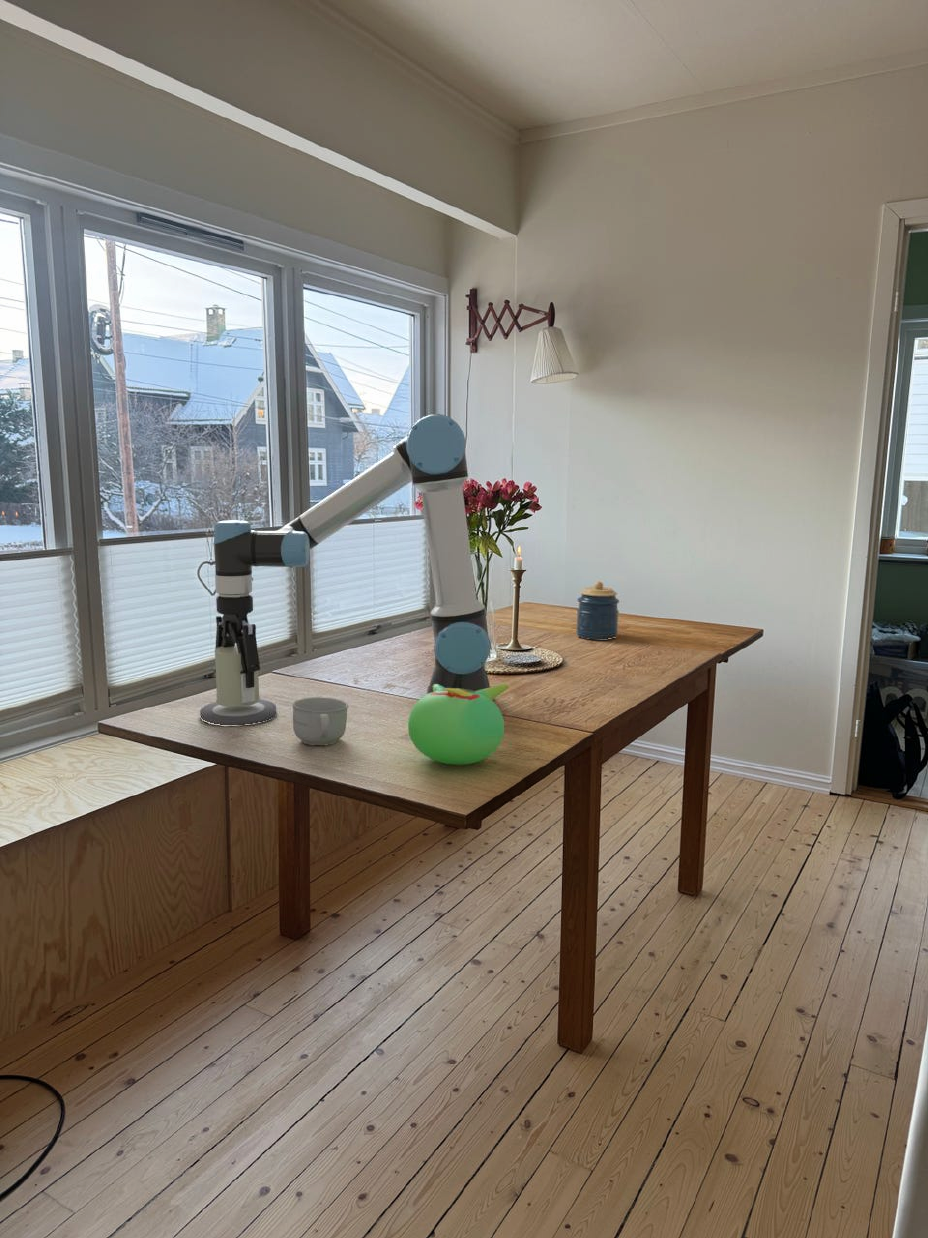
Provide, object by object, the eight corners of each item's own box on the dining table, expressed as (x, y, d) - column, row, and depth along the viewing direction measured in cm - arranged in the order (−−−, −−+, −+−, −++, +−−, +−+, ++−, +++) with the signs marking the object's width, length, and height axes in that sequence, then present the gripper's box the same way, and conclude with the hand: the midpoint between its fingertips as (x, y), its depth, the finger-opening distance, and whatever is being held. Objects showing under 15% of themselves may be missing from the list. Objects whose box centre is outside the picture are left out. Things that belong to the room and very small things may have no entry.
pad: (289, 717, 189) (289, 710, 189) (220, 731, 179) (220, 724, 179) (254, 700, 201) (254, 694, 201) (188, 713, 191) (187, 706, 191)
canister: (576, 631, 283) (578, 577, 280) (616, 633, 282) (619, 579, 278) (575, 640, 271) (577, 583, 267) (618, 642, 269) (620, 585, 266)
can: (248, 708, 184) (247, 653, 182) (208, 705, 186) (206, 650, 184) (267, 696, 193) (265, 643, 191) (228, 693, 195) (226, 641, 193)
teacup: (296, 733, 179) (295, 695, 178) (349, 732, 180) (349, 694, 178) (288, 756, 165) (287, 715, 164) (346, 755, 166) (345, 715, 165)
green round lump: (394, 768, 160) (394, 691, 157) (430, 740, 175) (430, 669, 173) (487, 782, 154) (488, 702, 151) (516, 752, 169) (517, 679, 166)
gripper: (275, 599, 179) (278, 705, 184) (227, 586, 196) (231, 683, 200) (241, 602, 175) (245, 711, 179) (195, 589, 191) (200, 689, 195)
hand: (238, 696), depth 189 cm, fingers closed on can, 9 cm apart
